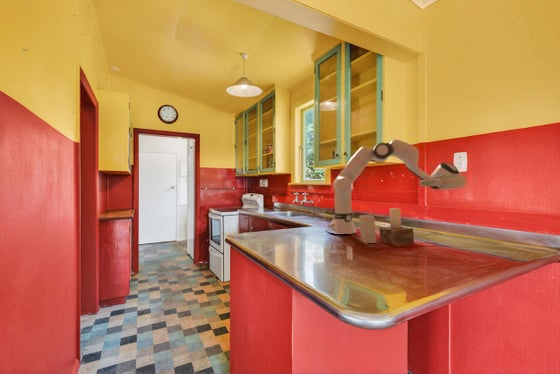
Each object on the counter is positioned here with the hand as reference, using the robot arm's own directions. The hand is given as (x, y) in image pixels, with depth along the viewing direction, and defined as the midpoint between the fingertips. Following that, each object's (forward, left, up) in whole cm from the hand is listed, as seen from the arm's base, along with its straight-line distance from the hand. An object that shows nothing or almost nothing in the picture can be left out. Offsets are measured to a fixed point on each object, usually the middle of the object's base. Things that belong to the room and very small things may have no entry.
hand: (427, 183), depth 143 cm
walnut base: (-4, -21, -32) cm, 38 cm away
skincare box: (-12, -34, -32) cm, 48 cm away
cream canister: (-4, -21, -24) cm, 32 cm away
